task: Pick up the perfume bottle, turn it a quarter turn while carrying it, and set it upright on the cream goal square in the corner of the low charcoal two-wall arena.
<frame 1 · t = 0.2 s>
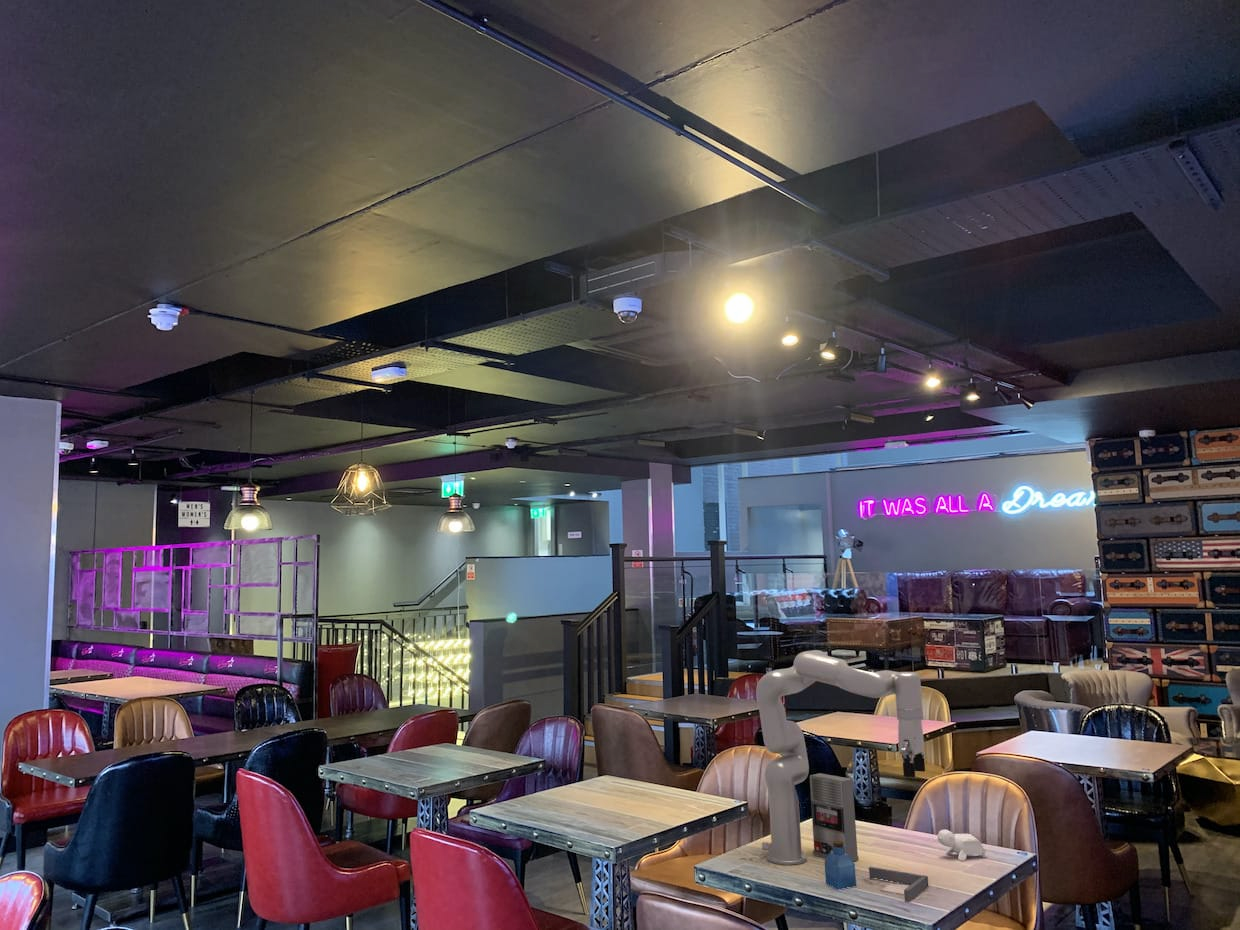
hand: (914, 773, 260), 31 cm above the table, tool pointing down, fingers open, 9 cm apart
cassette tape recorder: (835, 858, 283), on the table
white turtle figurine: (961, 858, 280), on the table
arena: (889, 889, 251), on the table
perfume bottle: (841, 886, 256), on the table
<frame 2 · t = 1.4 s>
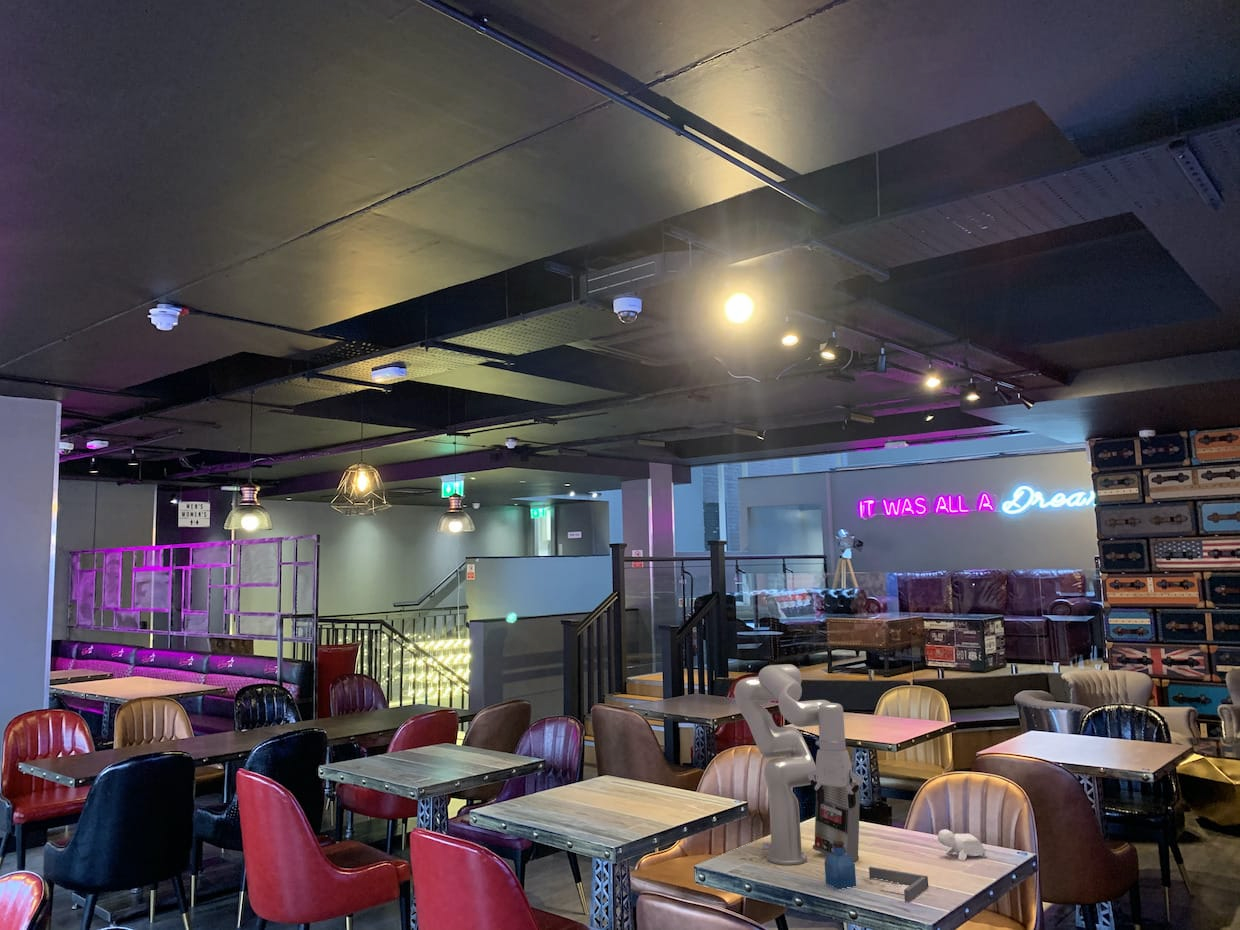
hand: (836, 805, 260), 22 cm above the table, tool pointing down, fingers open, 9 cm apart
cassette tape recorder: (835, 855, 283), point 1 cm above the table, touching arm
everything else where it was.
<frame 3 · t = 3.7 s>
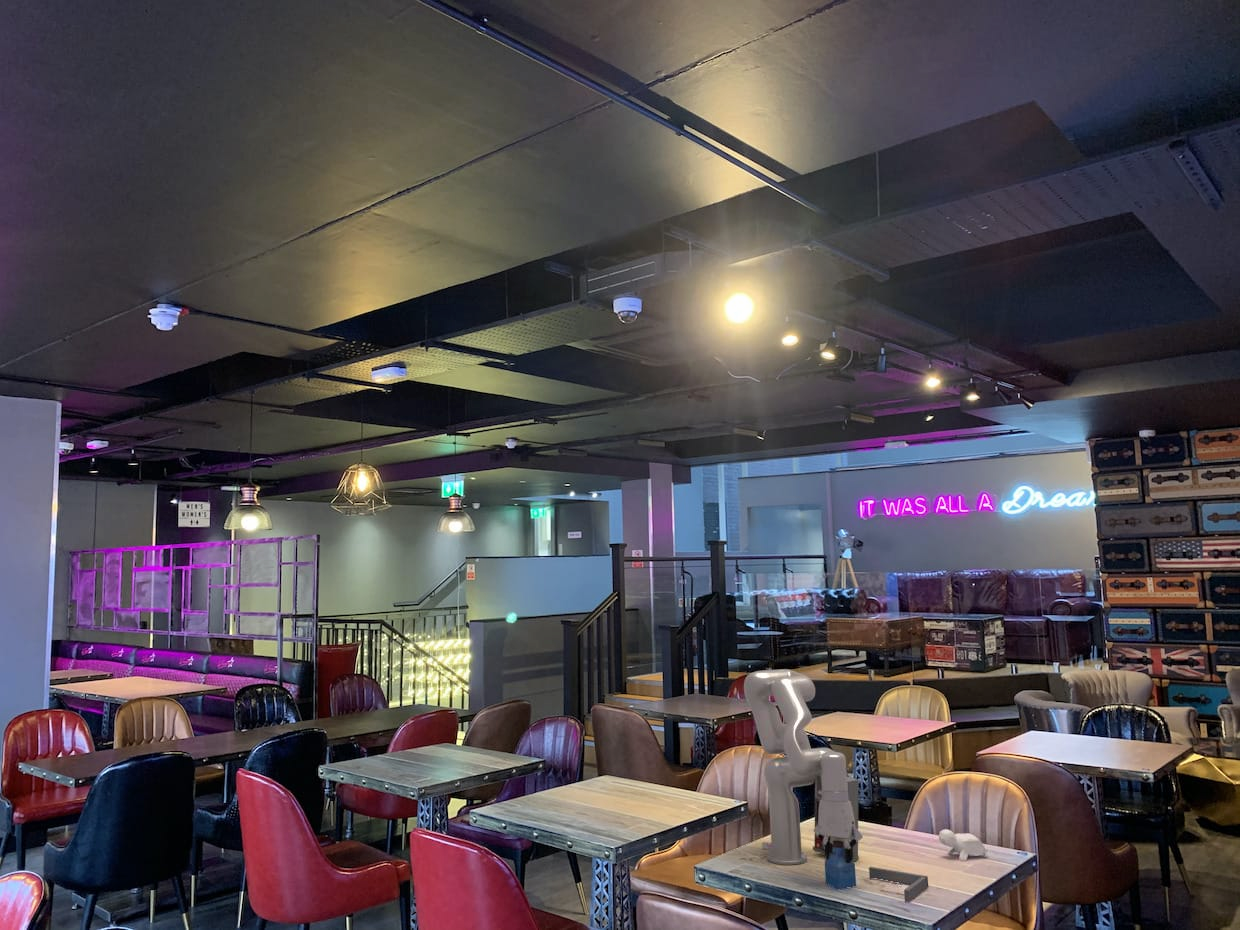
hand: (839, 859, 257), 7 cm above the table, tool pointing down, fingers closed on perfume bottle, 5 cm apart
perfume bottle: (841, 885, 256), on the table, touching gripper
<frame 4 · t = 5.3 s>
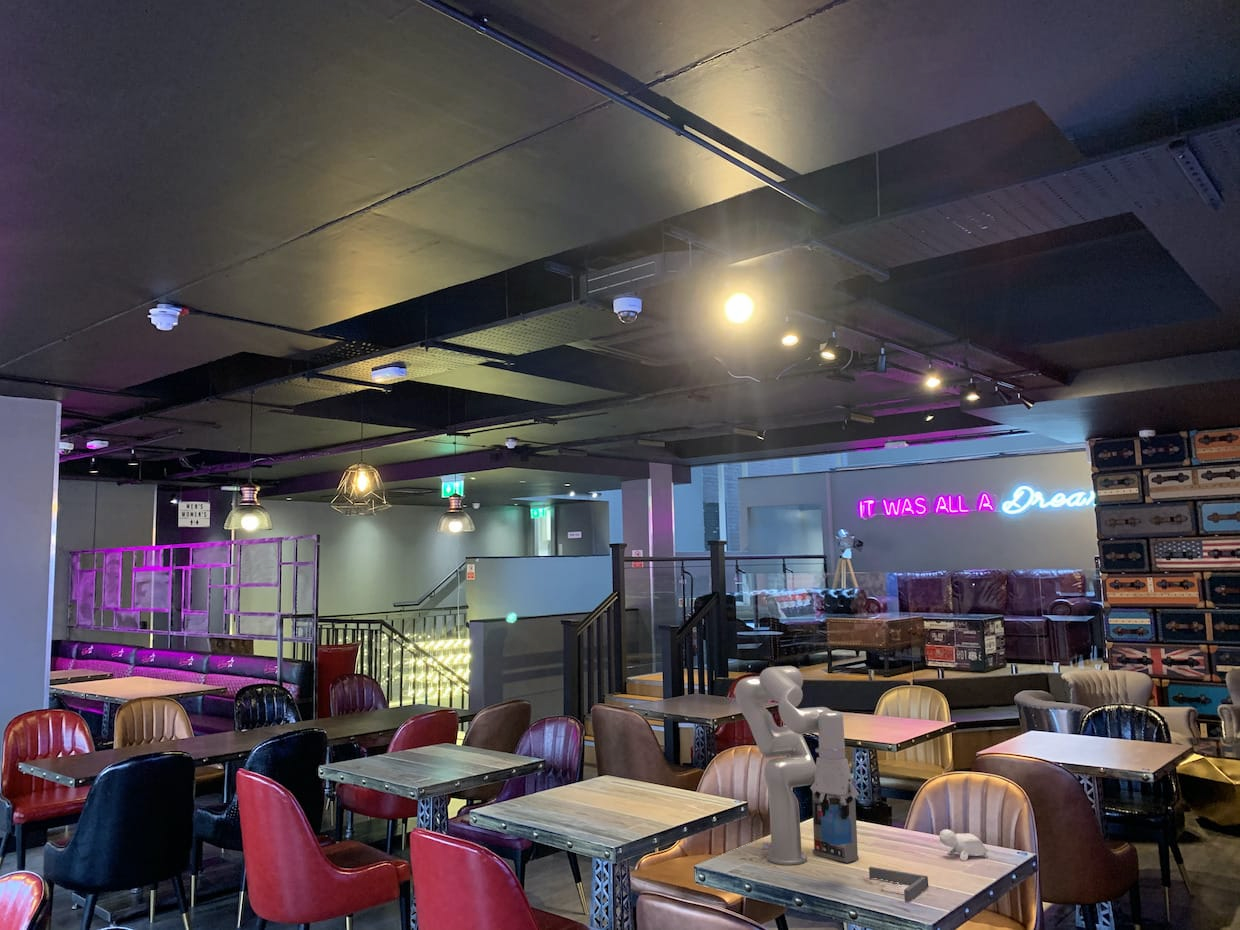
hand: (835, 816, 260), 19 cm above the table, tool pointing down, fingers closed on perfume bottle, 5 cm apart
perfume bottle: (836, 842, 259), point 12 cm above the table, touching gripper
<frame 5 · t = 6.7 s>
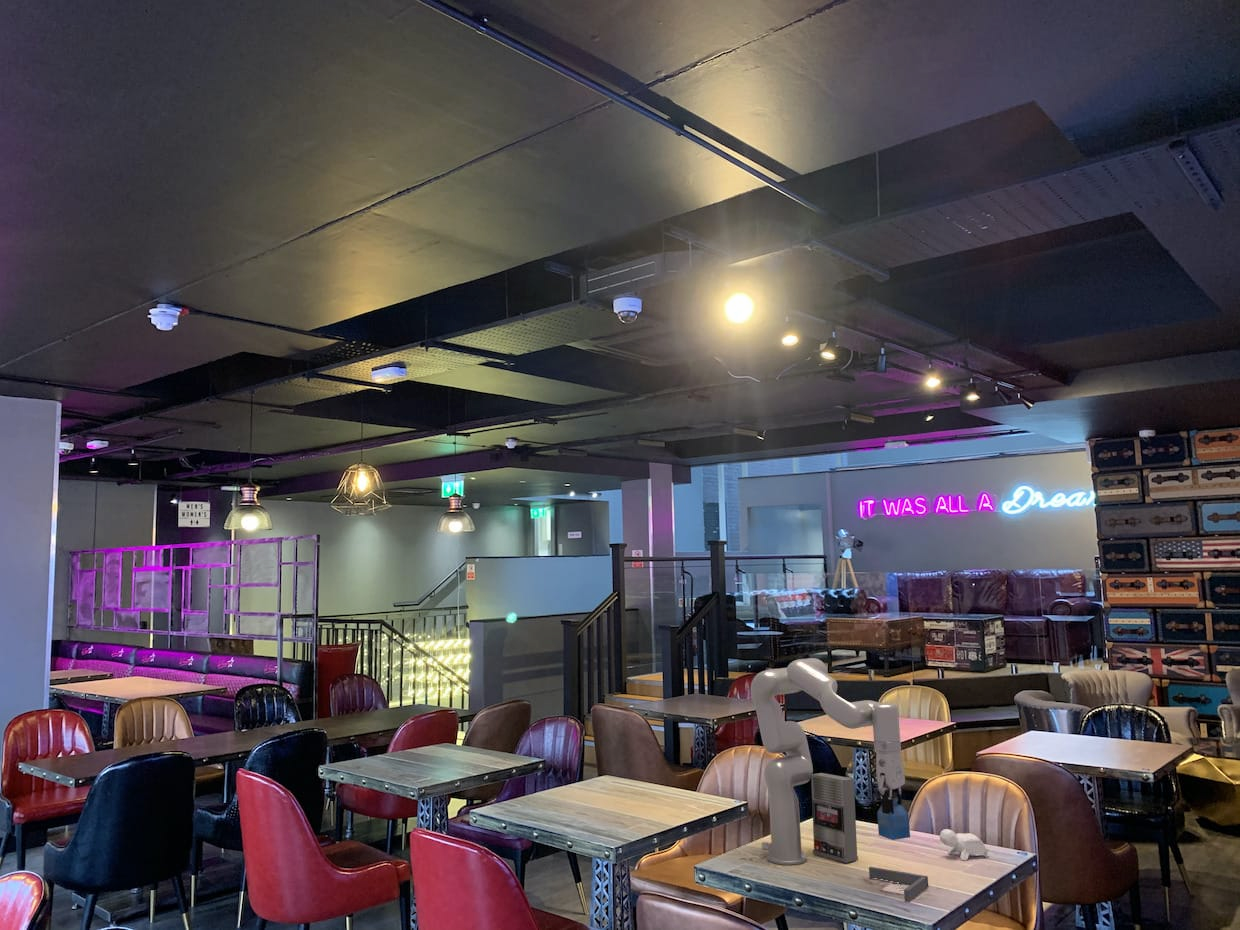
hand: (892, 810, 254), 22 cm above the table, tool pointing down, fingers closed on perfume bottle, 5 cm apart
perfume bottle: (894, 836, 253), point 14 cm above the table, touching gripper
when the fingers open (8 cm above the table, at t = 9.6 s): perfume bottle drops 1 cm, resting on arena.
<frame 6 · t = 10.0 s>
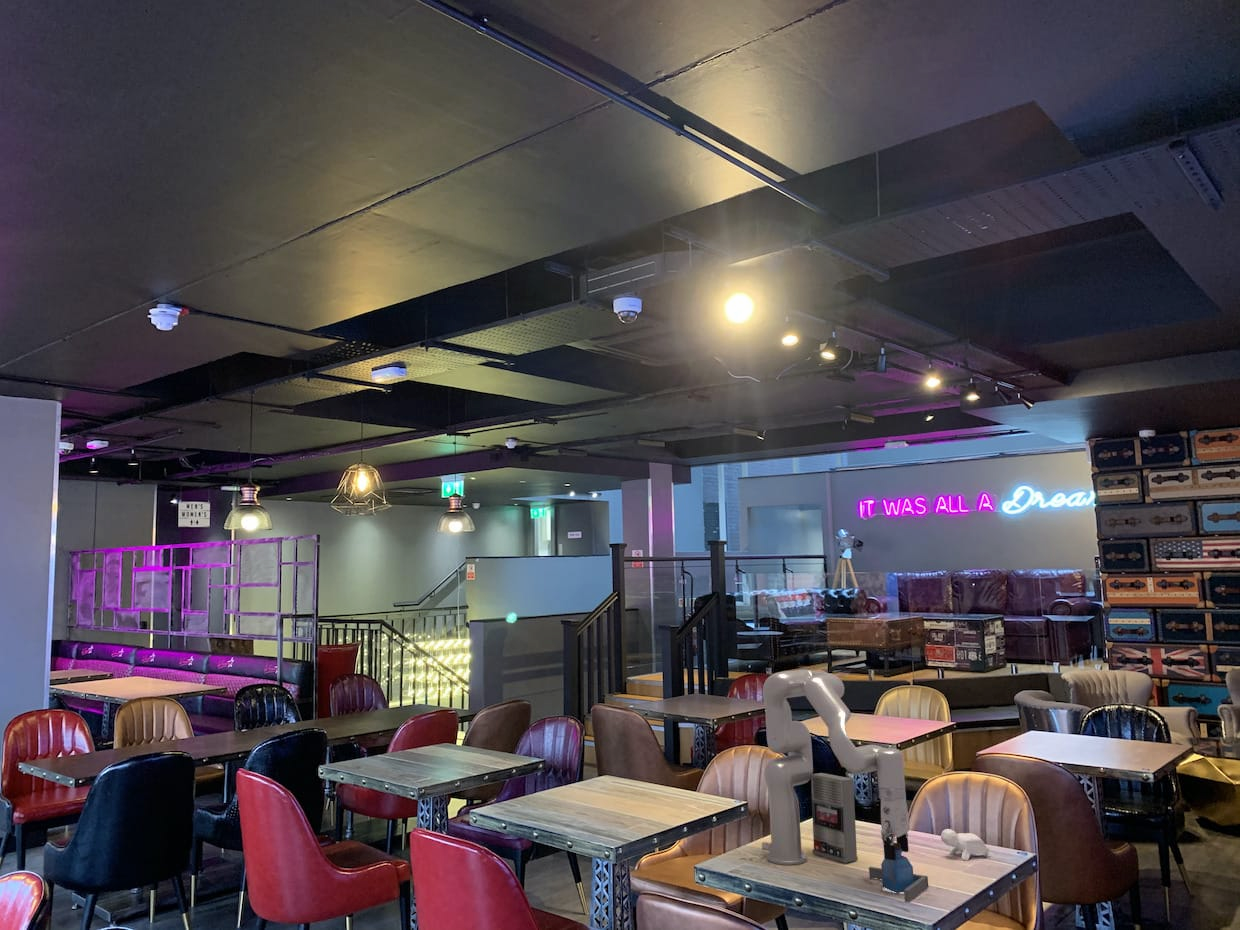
hand: (896, 855, 252), 9 cm above the table, tool pointing down, fingers open, 9 cm apart
cassette tape recorder: (834, 858, 283), on the table
perfume bottle: (898, 889, 251), resting on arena
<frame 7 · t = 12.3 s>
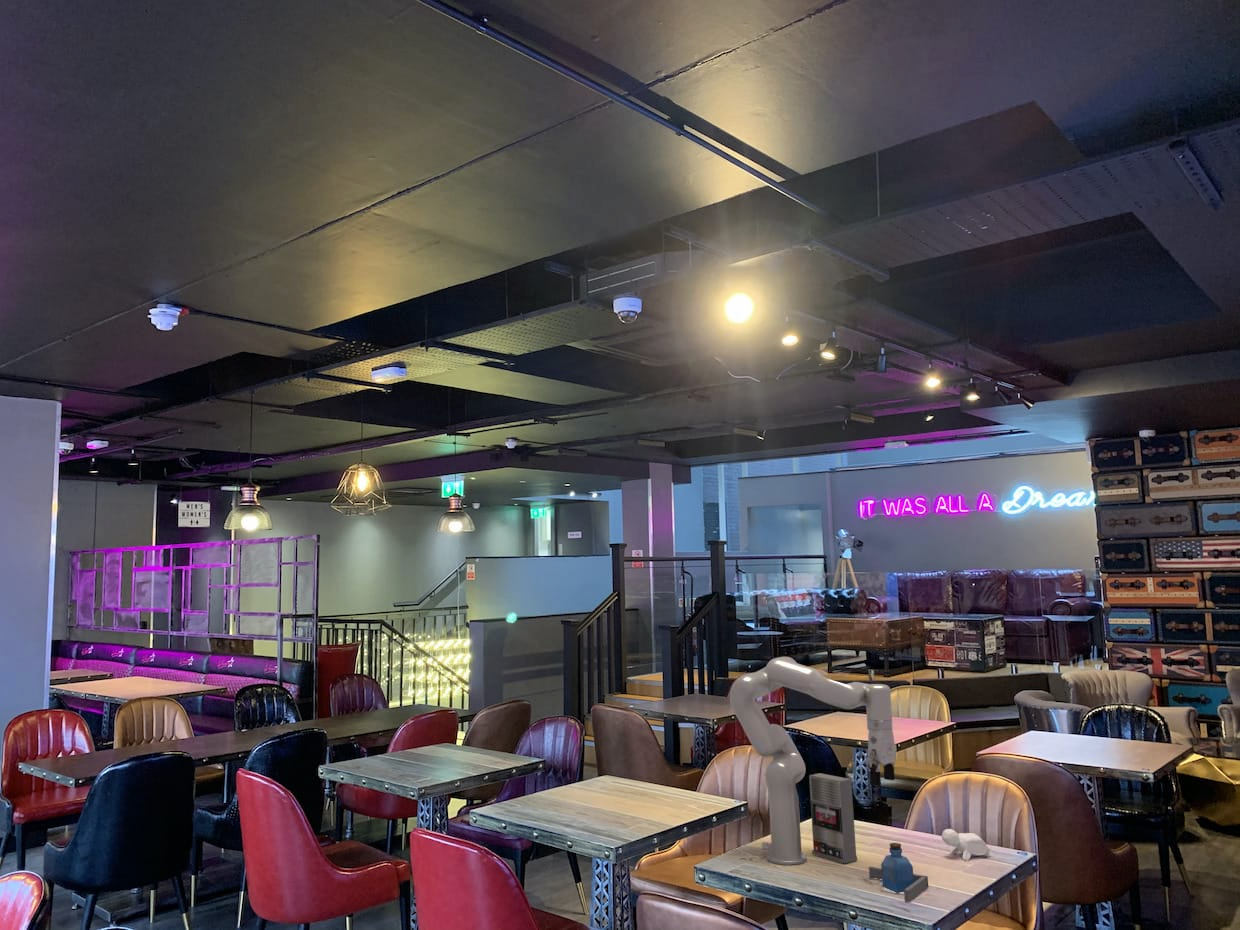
hand: (882, 782, 270), 26 cm above the table, tool pointing down, fingers open, 9 cm apart
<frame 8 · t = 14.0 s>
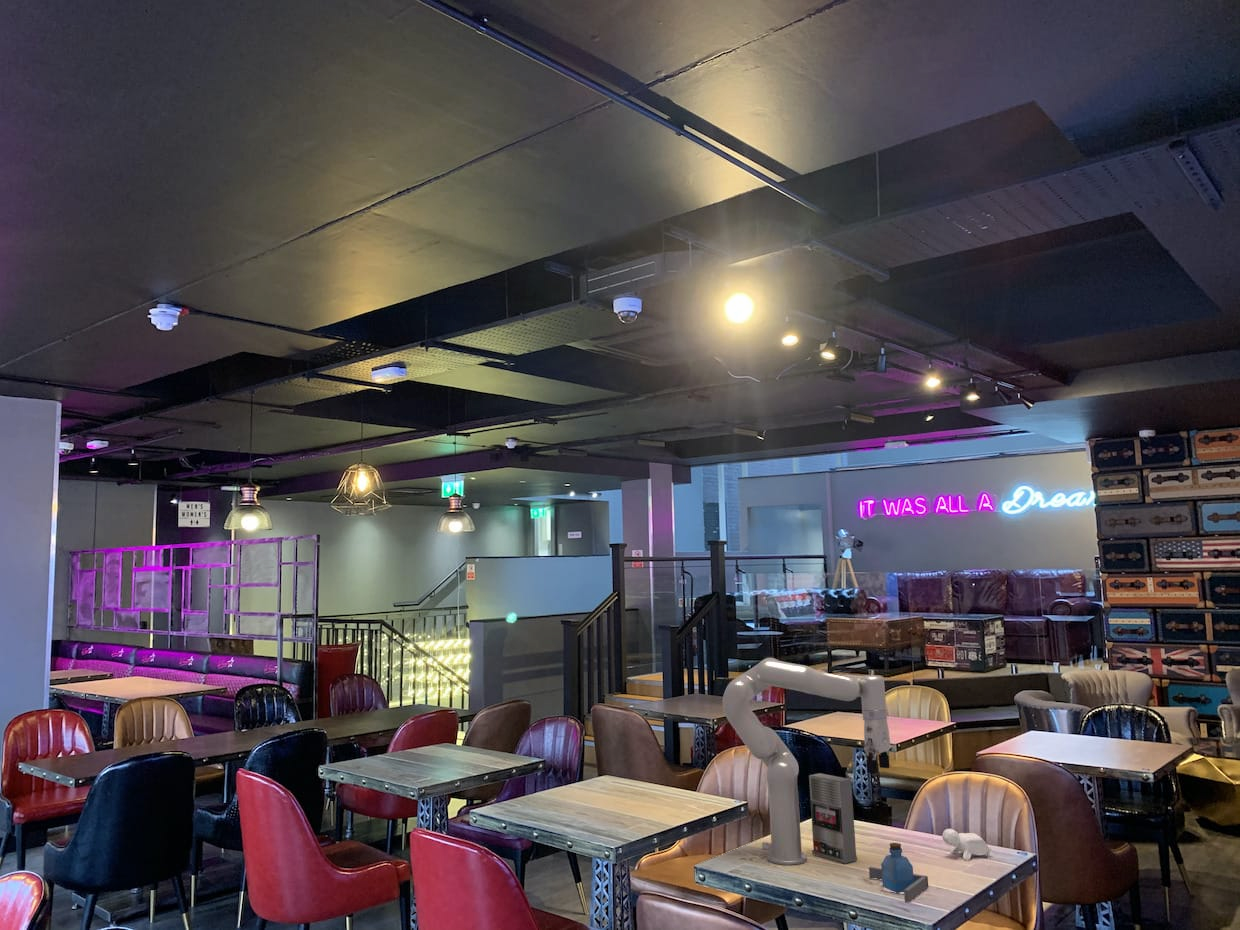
hand: (878, 770, 279), 28 cm above the table, tool pointing down, fingers open, 9 cm apart
at the end: perfume bottle 0.2 cm from the target spot, resting on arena; perfume bottle tilted 0°; the gripper is holding nothing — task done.
